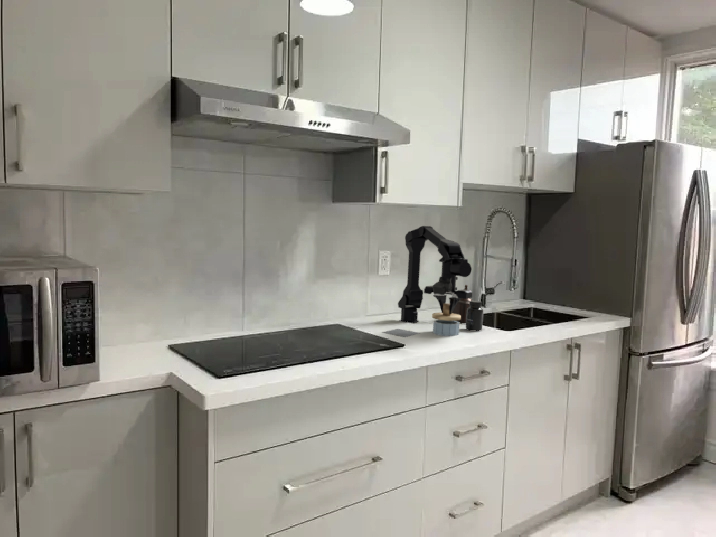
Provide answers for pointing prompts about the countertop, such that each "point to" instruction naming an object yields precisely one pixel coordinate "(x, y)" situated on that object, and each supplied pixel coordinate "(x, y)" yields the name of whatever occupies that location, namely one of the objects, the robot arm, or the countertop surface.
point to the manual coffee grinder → (462, 307)
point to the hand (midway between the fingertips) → (446, 313)
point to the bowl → (446, 327)
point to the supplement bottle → (474, 316)
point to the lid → (446, 314)
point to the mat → (401, 332)
